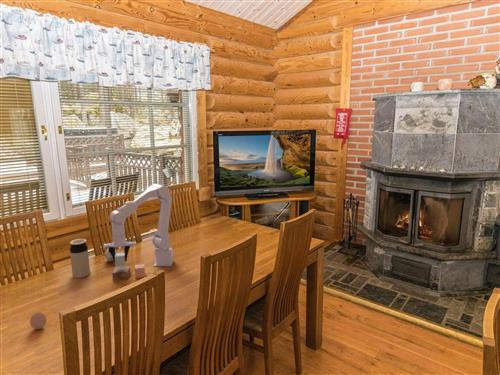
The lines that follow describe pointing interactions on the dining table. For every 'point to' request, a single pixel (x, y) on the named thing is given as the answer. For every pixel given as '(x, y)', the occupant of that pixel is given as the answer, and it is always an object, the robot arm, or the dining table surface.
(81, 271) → the travel mug
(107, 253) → the pale grey round lump
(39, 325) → the egg
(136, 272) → the terracotta block
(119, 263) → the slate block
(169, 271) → the dining table surface
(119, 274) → the walnut base
